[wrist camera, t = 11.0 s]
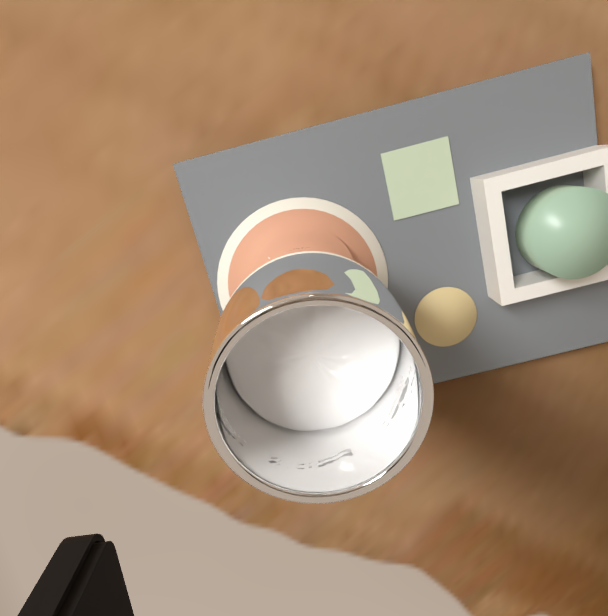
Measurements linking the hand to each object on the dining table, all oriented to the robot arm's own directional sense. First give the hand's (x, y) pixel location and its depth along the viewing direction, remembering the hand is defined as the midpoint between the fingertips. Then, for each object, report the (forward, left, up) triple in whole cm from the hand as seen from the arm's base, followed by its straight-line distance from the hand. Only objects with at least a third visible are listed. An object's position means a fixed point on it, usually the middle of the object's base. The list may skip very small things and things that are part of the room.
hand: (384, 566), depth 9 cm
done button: (0, +13, -19) cm, 23 cm away
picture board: (0, +5, -22) cm, 23 cm away
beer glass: (0, -1, -21) cm, 21 cm away
